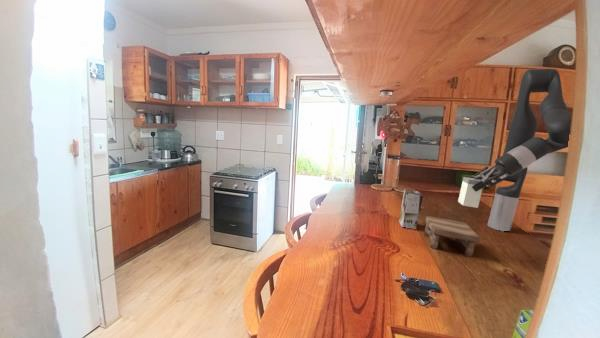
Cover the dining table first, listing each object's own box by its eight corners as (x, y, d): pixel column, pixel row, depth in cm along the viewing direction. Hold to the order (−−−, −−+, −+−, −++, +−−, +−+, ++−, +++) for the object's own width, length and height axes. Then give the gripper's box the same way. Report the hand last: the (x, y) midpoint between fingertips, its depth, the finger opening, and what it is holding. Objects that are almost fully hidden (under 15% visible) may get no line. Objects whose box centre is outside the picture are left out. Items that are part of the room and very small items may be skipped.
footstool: (422, 233, 113) (426, 215, 111) (460, 240, 109) (465, 222, 108) (430, 248, 98) (434, 228, 97) (474, 257, 95) (479, 237, 93)
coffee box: (416, 230, 115) (423, 195, 112) (401, 227, 116) (408, 193, 114) (412, 223, 124) (418, 190, 121) (398, 220, 125) (404, 188, 122)
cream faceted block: (457, 201, 103) (463, 176, 101) (472, 203, 102) (477, 178, 100) (463, 205, 97) (468, 179, 96) (477, 207, 96) (484, 181, 95)
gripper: (498, 150, 101) (457, 176, 105) (519, 154, 87) (471, 183, 92) (510, 166, 100) (469, 191, 105) (533, 172, 87) (485, 200, 91)
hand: (470, 187), depth 98 cm, fingers closed on cream faceted block, 5 cm apart
